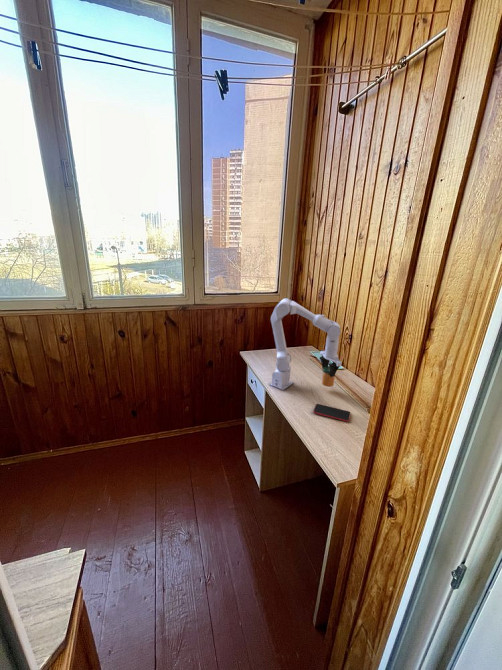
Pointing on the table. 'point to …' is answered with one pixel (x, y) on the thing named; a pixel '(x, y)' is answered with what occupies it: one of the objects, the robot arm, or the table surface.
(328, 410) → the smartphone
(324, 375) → the honey jar
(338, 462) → the table surface
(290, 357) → the robot arm
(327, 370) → the honey lid
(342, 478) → the table surface
